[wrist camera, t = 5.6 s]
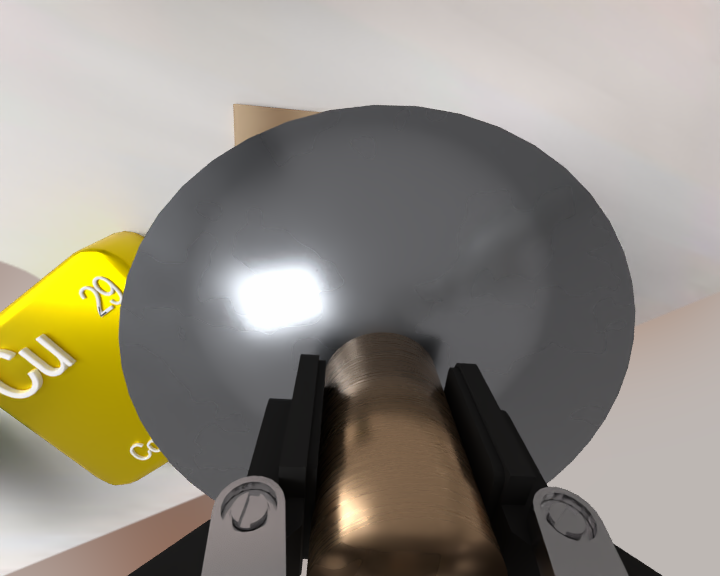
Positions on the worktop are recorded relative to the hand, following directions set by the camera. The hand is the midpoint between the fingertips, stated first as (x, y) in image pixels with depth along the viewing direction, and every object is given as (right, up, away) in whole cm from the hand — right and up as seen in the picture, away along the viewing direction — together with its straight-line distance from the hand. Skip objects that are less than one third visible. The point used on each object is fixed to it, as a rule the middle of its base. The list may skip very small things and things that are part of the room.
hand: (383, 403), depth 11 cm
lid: (0, +1, +2) cm, 2 cm away
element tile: (-18, -1, +19) cm, 26 cm away
